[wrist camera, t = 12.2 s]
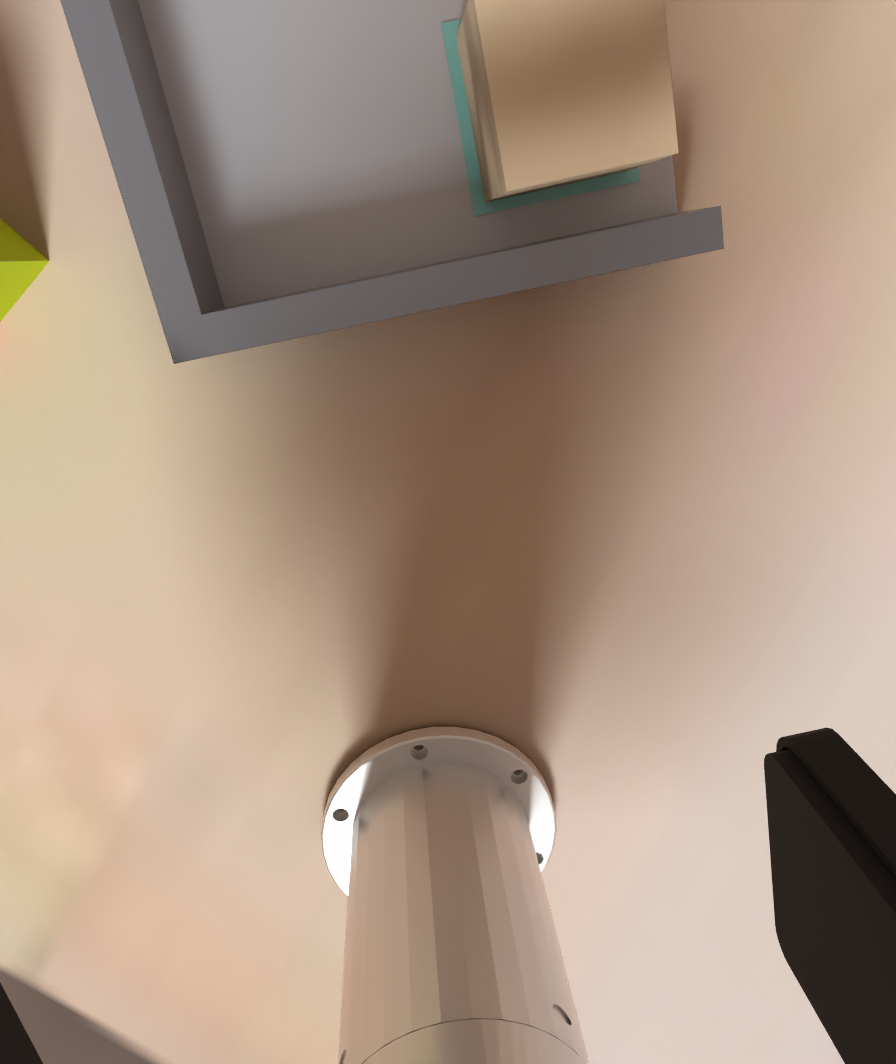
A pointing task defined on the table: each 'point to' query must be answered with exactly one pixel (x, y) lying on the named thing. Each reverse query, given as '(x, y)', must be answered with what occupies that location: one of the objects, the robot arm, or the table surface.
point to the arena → (332, 171)
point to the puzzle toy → (16, 266)
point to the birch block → (565, 90)
